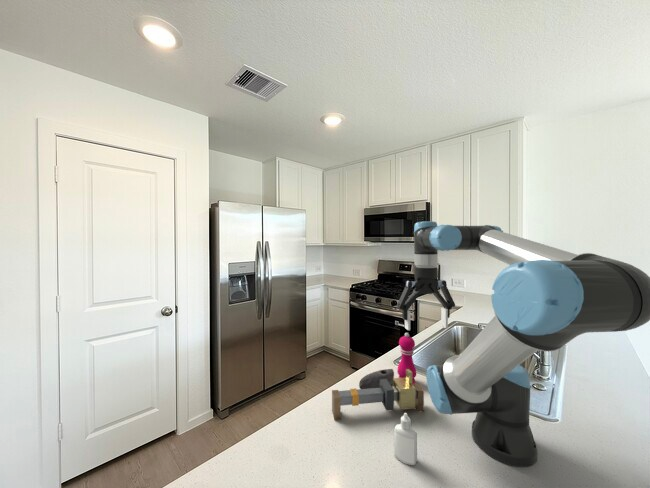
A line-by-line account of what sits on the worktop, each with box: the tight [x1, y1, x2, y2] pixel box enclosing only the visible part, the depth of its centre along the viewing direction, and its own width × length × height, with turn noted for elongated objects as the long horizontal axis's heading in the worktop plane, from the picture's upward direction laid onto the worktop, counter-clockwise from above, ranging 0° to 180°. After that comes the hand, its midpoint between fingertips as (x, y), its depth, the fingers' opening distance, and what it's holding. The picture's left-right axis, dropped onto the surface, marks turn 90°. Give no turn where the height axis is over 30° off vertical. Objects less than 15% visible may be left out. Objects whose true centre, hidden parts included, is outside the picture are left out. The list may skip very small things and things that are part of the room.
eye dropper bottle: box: [393, 412, 418, 466], centre depth 69 cm, size 4×6×12 cm
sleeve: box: [392, 369, 415, 410], centre depth 89 cm, size 5×7×11 cm
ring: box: [380, 379, 395, 412], centre depth 88 cm, size 2×7×7 cm, turn 8°
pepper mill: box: [396, 332, 417, 384], centre depth 105 cm, size 7×7×20 cm
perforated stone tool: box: [358, 368, 395, 389], centre depth 100 cm, size 15×5×7 cm, turn 104°
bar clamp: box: [331, 383, 425, 421], centre depth 88 cm, size 30×4×7 cm, turn 98°
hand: (426, 328), depth 91 cm, fingers open, 13 cm apart
